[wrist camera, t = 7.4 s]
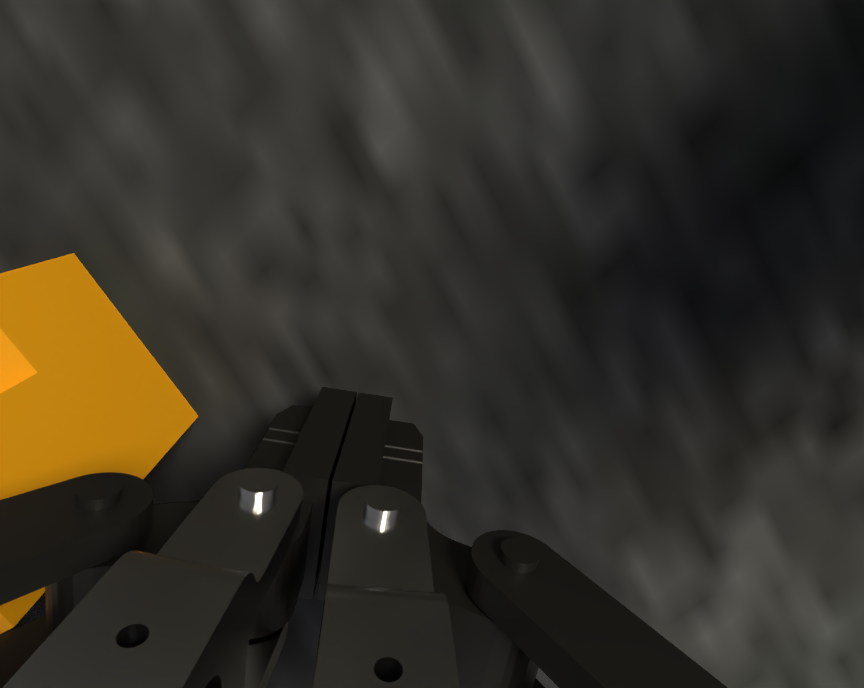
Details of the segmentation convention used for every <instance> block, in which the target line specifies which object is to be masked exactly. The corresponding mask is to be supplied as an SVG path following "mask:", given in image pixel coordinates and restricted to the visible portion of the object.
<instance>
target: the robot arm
mask: <svg viewBox="0 0 864 688" xmlns="http://www.w3.org/2000/svg"><path fill="white" fill-rule="evenodd" d="M356 396H357V393H356V392H351V391H345V390H339V389H332V388H326V387H322V389H321V391H320V393H319V395H318V397H317V399H316V401H315V404H314V406H313V408H307V407H301V406H294V405H293V406H291V407H289V408H287V409H286V410H284V411H282V412H280V413H279V414H277V415H276V417H275V418H274V420H273V422H272V423H271V425H270V427H269V430H267V432H266V433H265V435H264V437H263V440H261V442H260V443H259V445H258V447H257V449H256V450H255V452H254V454H253V455H252V457H251V459H250V460H249V462H248V464H247V465H246V467H245V469H241V470H237V471H234V472H231V473H228V474H226V475H224V476H223V477H221V478H220V479H218V480H217V481H216V482H215V483H214V484H213V486H212V487H211V488H210V489H209V491H208V492H207V493H206V494H205V495H204V497H203V498H202V499H201V500H199V501H193V502H182V503H164V504H153V490H152V488H151V486H150V485H149V484H148V483H147V482H146V481H144V480H143V479H141V478H139V477H137V476H134V475H130V474H125V473H116V472H103V473H94V474H88V475H83V476H79V477H76V478H72V479H69V480H66V481H62V482H59V483H56V484H52V485H49V486H46V487H42V488H39V489H36V490H32V491H29V492H26V493H22V494H19V495H16V496H12V497H9V498H6V499H2V500H0V605H3V604H5V603H7V602H10V601H12V600H15V599H17V598H19V597H22V596H24V595H27V594H29V593H31V592H34V591H36V590H39V589H41V588H43V587H45V601H46V615H44V616H42V617H40V618H37V619H35V620H33V621H31V622H29V623H26V624H24V625H22V626H20V627H17V628H15V629H13V630H11V631H9V632H6V633H4V634H2V635H0V688H266V687H267V685H268V682H269V680H270V677H271V675H272V672H273V670H274V667H275V665H276V662H277V660H278V657H279V655H280V652H281V650H282V647H283V645H284V643H285V640H286V636H287V631H288V622H289V619H290V618H291V616H292V614H293V612H294V608H295V605H296V602H297V598H302V599H309V600H313V596H314V592H315V589H316V585H317V581H318V577H319V574H320V577H319V585H318V592H317V600H318V601H325V602H324V609H323V616H322V623H321V630H320V637H319V644H318V652H317V659H316V666H315V674H314V681H313V688H545V687H544V686H543V685H542V684H541V683H540V682H539V681H538V680H537V679H536V674H537V671H538V667H539V668H540V669H541V670H542V671H543V672H544V673H545V674H546V675H547V676H548V677H549V678H550V679H551V680H552V681H553V682H554V683H555V684H556V685H557V686H558V687H559V688H727V687H726V686H725V685H724V684H722V683H721V682H720V681H719V680H717V679H716V678H715V677H713V676H712V675H711V674H710V673H708V672H707V671H706V670H705V669H703V668H702V667H701V666H699V665H698V664H697V663H696V662H694V661H693V660H692V659H691V658H689V657H688V656H687V655H686V654H684V653H683V652H682V651H680V650H679V649H678V648H677V647H675V646H674V645H673V644H672V643H670V642H669V641H668V640H666V639H665V638H664V637H663V636H661V635H660V634H659V633H658V632H656V631H655V630H654V629H653V628H651V627H650V626H649V625H647V624H646V623H645V622H644V621H642V620H641V619H640V618H639V617H637V616H636V615H635V614H633V613H632V612H631V611H630V610H628V609H627V608H626V607H625V606H623V605H622V604H621V603H620V602H618V601H617V600H616V599H614V598H613V597H612V596H611V595H609V594H608V593H607V592H606V591H604V590H603V589H602V588H600V587H599V586H598V585H597V584H595V583H594V582H593V581H592V580H590V579H589V578H588V577H587V576H585V575H584V574H583V573H581V572H580V571H579V570H578V569H576V568H575V567H574V566H573V565H571V564H570V563H569V562H568V561H566V560H565V559H564V558H562V557H561V556H560V555H559V554H557V553H556V552H555V551H554V550H552V549H551V548H550V547H548V546H547V545H546V544H544V543H543V542H541V541H539V540H537V539H536V538H533V537H531V536H529V535H526V534H523V533H519V532H515V531H507V530H498V531H491V532H487V533H485V534H483V535H481V536H479V537H478V538H477V539H476V540H475V541H474V543H473V545H472V547H470V546H467V545H464V544H462V543H459V542H456V541H454V540H452V539H449V538H447V537H445V536H444V535H442V534H440V533H439V532H437V531H436V530H435V529H434V528H433V527H431V526H430V525H429V523H428V522H427V521H426V513H425V510H424V508H423V506H422V504H421V491H422V457H423V453H422V451H423V436H422V435H421V433H420V432H419V431H418V429H417V428H416V426H415V425H414V424H412V423H405V422H399V421H392V420H389V417H390V411H391V405H392V398H390V397H384V396H377V395H371V394H365V393H359V395H358V398H357V401H356Z"/></svg>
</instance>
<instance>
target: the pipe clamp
mask: <svg viewBox="0 0 864 688" xmlns="http://www.w3.org/2000/svg"><path fill="white" fill-rule="evenodd" d="M197 417H198V415H197V414H196V412H195V411H194V410H193V408H192V407H191V406H190V404H189V403H188V402H187V401H186V399H185V398H184V397H183V395H182V394H181V393H180V391H179V390H178V389H177V387H176V386H175V385H174V384H173V382H172V381H171V380H170V378H169V377H168V376H167V374H166V373H165V372H164V371H163V369H162V368H161V367H160V365H159V364H158V363H157V361H156V360H155V359H154V357H153V356H152V355H151V354H150V352H149V351H148V350H147V348H146V347H145V346H144V344H143V343H142V342H141V340H140V339H139V338H138V337H137V335H136V334H135V333H134V331H133V330H132V329H131V327H130V326H129V325H128V323H127V322H126V321H125V320H124V318H123V317H122V316H121V314H120V313H119V312H118V310H117V309H116V308H115V306H114V305H113V304H112V303H111V301H110V300H109V299H108V297H107V296H106V295H105V293H104V292H103V291H102V290H101V288H100V287H99V286H98V284H97V283H96V282H95V280H94V279H93V278H92V276H91V275H90V274H89V273H88V271H87V270H86V269H85V267H84V266H83V265H82V263H81V262H80V261H79V259H78V258H77V257H76V256H75V254H74V253H73V254H69V255H65V256H62V257H58V258H55V259H51V260H47V261H44V262H40V263H37V264H33V265H29V266H26V267H22V268H19V269H15V270H11V271H8V272H4V273H1V274H0V500H2V499H6V498H9V497H12V496H16V495H19V494H22V493H26V492H29V491H32V490H36V489H39V488H42V487H46V486H49V485H52V484H56V483H59V482H62V481H66V480H69V479H72V478H76V477H79V476H83V475H88V474H94V473H103V472H116V473H125V474H130V475H134V476H137V477H139V478H141V479H144V478H145V477H146V476H147V475H148V473H149V472H150V471H151V470H152V469H153V468H154V467H155V465H156V464H157V463H158V462H159V461H160V460H161V459H162V457H163V456H164V455H165V454H166V453H167V452H168V451H169V449H170V448H171V447H172V446H173V445H174V444H175V443H176V441H177V440H178V439H179V438H180V437H181V436H182V435H183V433H184V432H185V431H186V430H187V429H188V428H189V427H190V425H191V424H192V423H193V422H194V421H195V420H196V419H197ZM44 592H45V587H43V588H41V589H39V590H36V591H34V592H31V593H29V594H27V595H24V596H22V597H19V598H17V599H15V600H12V601H10V602H7V603H5V604H3V605H0V634H2V633H3V632H5V631H7V630H9V629H11V628H13V627H14V626H15V625H16V624H17V623H18V622H19V621H20V620H21V618H22V617H23V616H24V615H25V614H26V613H27V612H28V610H29V609H30V608H31V607H32V606H33V605H34V604H35V602H36V601H37V600H38V599H39V598H40V597H41V596H42V594H43V593H44Z"/></svg>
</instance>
